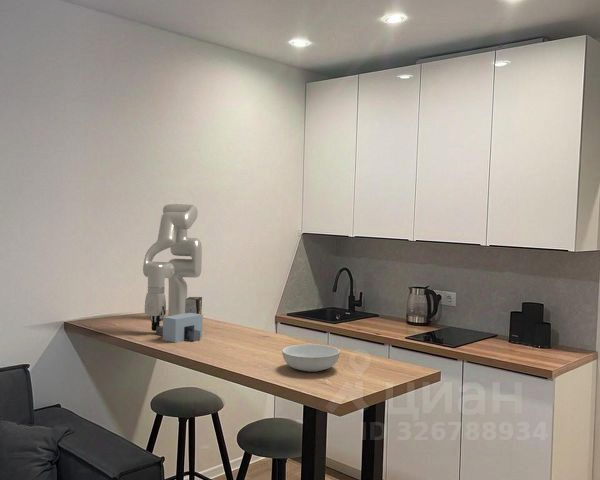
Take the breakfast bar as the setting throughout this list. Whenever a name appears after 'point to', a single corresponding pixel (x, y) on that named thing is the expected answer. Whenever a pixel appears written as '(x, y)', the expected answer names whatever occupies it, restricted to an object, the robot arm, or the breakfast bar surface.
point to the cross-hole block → (181, 326)
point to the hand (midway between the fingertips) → (155, 330)
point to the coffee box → (193, 305)
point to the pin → (188, 333)
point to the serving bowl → (310, 357)
